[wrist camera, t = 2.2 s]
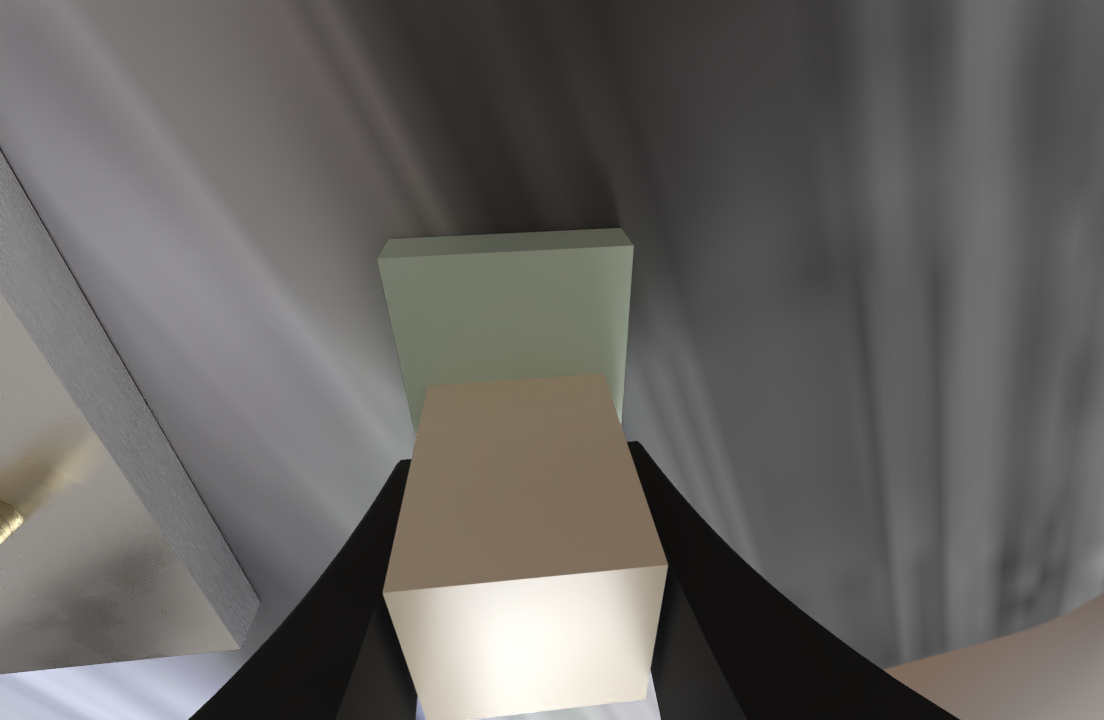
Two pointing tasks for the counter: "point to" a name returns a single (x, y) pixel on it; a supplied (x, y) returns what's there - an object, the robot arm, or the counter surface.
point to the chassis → (92, 487)
